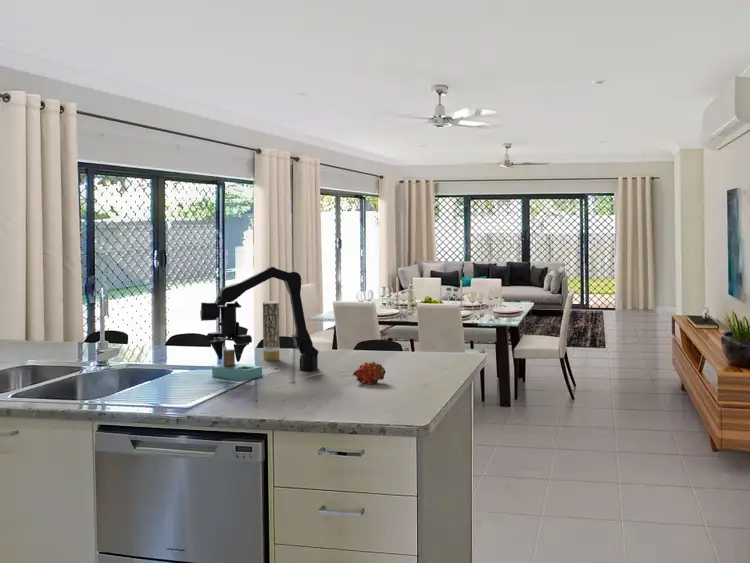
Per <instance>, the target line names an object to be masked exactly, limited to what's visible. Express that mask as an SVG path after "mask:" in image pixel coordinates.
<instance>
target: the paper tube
mask: <svg viewBox="0 0 750 563" xmlns="http://www.w3.org/2000/svg"><path fill="white" fill-rule="evenodd" d="M262 337H263V338H262V340H263V341H262V342H263V344H262V345H263V347H262V348H263V360H264V361H268V362H269V361H270V362H275V361H279V360H280V302H279V301H275V300H270V301H268V300H267V301H262Z"/></svg>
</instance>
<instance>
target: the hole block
mask: <svg viewBox="0 0 750 563" xmlns="http://www.w3.org/2000/svg"><path fill="white" fill-rule="evenodd" d="M211 368H212V369H211V370H212V371H211V372H212V374H211V375H212V377H216V378H224V379H231V380H237V381H247V380H252V379H255V378H259V377H262V376H263V375H262V368H263V367H262V366H259V365H251V364H241V363H236V362H235V366H234V367H224V363H223V364H219V365H215V366H212V367H211Z"/></svg>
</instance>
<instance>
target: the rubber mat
mask: <svg viewBox="0 0 750 563" xmlns="http://www.w3.org/2000/svg"><path fill="white" fill-rule="evenodd" d="M278 372H282V370H280V369H272V368H265V367H264V368H263V367H262V376H265V375H269V374H274V373H278Z"/></svg>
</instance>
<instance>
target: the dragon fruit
mask: <svg viewBox="0 0 750 563" xmlns="http://www.w3.org/2000/svg"><path fill="white" fill-rule="evenodd" d="M386 373H387V372H386V369H385V367H383V365H382V364H381V363H376V362H374V361H372V362H370V363H369V362H364V363H363V364H361V365H359V367H358V368H357V369H356V370H354V372H353V373H352V377H354V376H355V377H356V381H357V382H359V383H360V384H363V385H364V384H365V385H366V384H368V385H371V384H378V382H379V380H381V381H382V380H384V379H385V377H384V376H385V374H386Z"/></svg>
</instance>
